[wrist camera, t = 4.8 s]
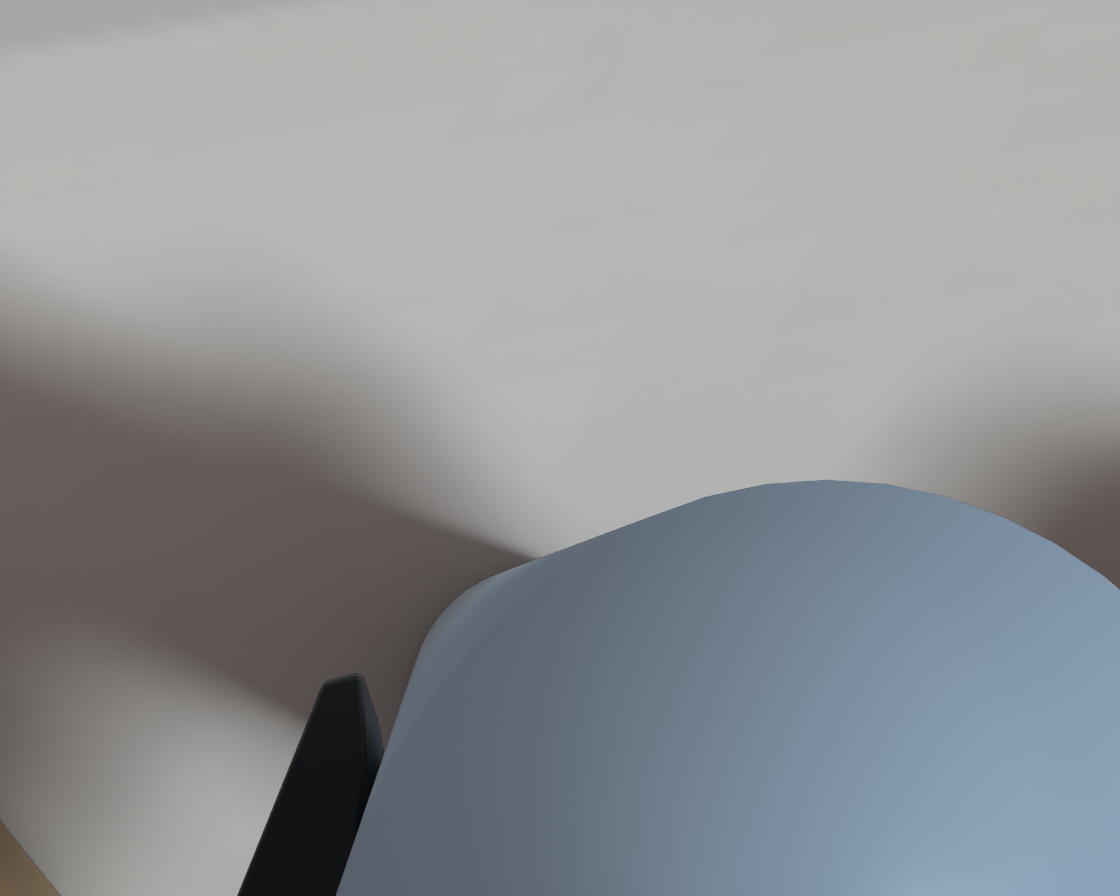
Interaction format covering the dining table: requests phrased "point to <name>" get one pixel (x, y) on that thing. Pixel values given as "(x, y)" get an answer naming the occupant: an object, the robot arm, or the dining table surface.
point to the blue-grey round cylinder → (763, 712)
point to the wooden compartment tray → (20, 870)
